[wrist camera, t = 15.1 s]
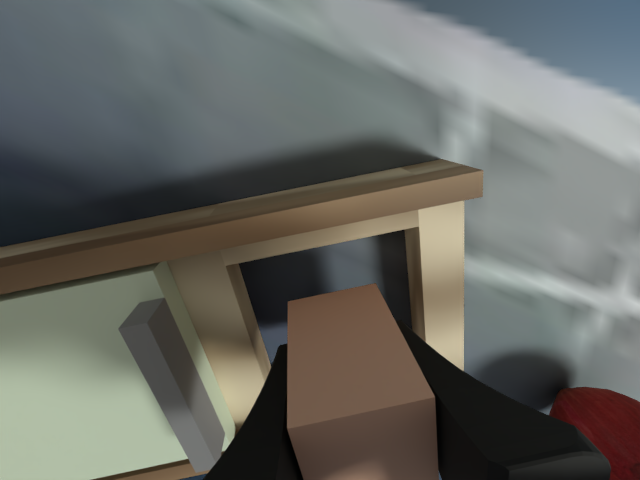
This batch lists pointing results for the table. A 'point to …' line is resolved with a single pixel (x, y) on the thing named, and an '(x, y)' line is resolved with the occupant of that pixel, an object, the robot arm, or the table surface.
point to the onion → (605, 425)
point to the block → (356, 392)
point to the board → (270, 240)
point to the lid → (105, 379)
